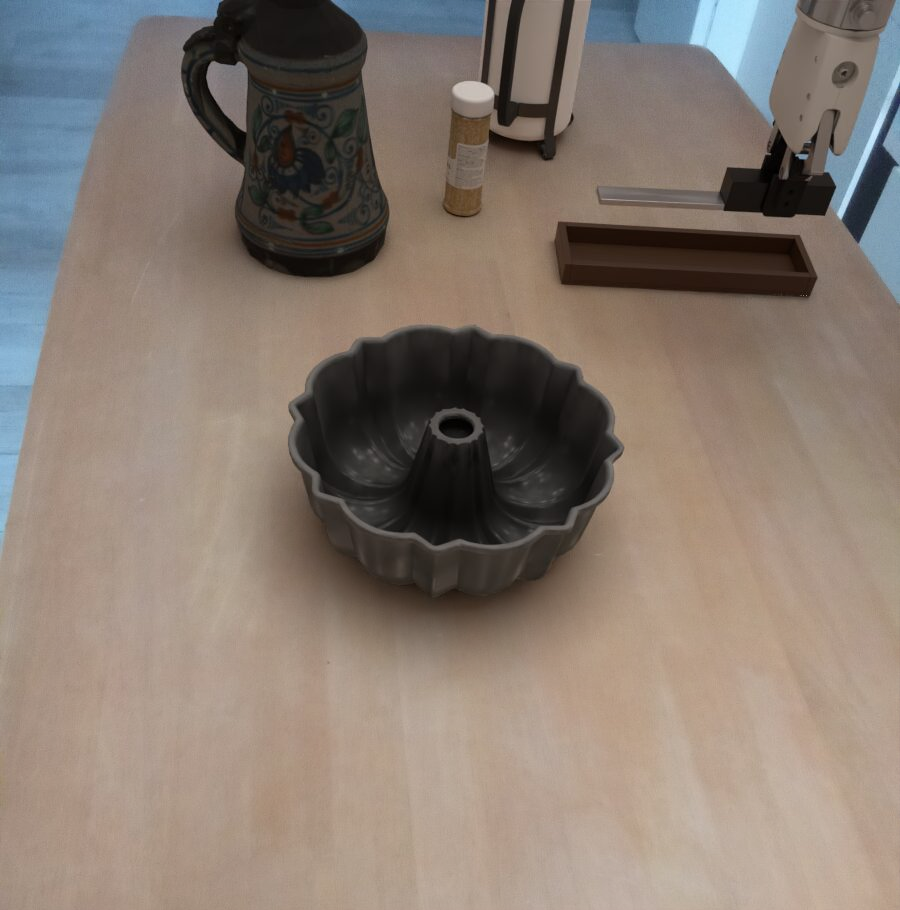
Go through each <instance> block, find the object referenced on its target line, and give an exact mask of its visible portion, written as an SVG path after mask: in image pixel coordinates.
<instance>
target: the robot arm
mask: <svg viewBox="0 0 900 910" xmlns="http://www.w3.org/2000/svg"><path fill="white" fill-rule="evenodd" d="M896 2H897V0H797V1H796V5H795V7H794V12H795V14H796V18H795V21H794V23H793V25H792V28H791V30H790V33H789V35H788V38H787V40H786V43H785V46H784V49H783V52H782V54H781V57H780V60H779V62H778V66H777V69H776V72H775V75H774V78H773V81H772V84H771V88H770V92H769V97H768V106H769V110H770V112H771V115H772V117H773V121H772V129H771V133H770V135H769V137H768V140H767V142H766V143H767V144H766V153H767V154H765V155H764V158H763V160H762V164H761V167H760V169H774V170H780V171H779V174H774V176H773V179H772V182H771V185H770V187H769V190H768V193H767V196H766V199H765V202H764V205H763V208H762V213H761V214H762V215H763V217H766V218H786V219H787V218H788V219H792V218H794V217H795V216H796V215H797V214H796V212H797V209H798V207H799V204H800V201H801V199H802V196H803V193H804V191H805V188H806V185H807V183H808V181H810V180H811V178H812V176H813V175H816V176H822V175H823V173H824V172H825V170H826V164H827V159H828V155H829V150H830V152H831V153H832V155H834V156H836V157H840V156H842V155H843V154H844V153H845V151H846V150H847V148H848V145H849V143H850V140H851V137H852V134H853V132H854V129H855V126H856V124H857V121H858V118H859V115H860V113H861V109H862V106H863V103H864V100H865V97H866V93H867V91H868V87H869V85H870V81H871V77H872V75H873V71H874V66H875V63H876V58H877V54H878V50H879V47H880V46H879V45H880V40H881V37H880V35H881V34H883V32H884V31H885V29H886V28H887V25H888V22H889V19H890V17H891V14H892V11H893V9H894V7H895V4H896ZM799 155H804V156H805V155H807V157H806V158H800V157H799Z"/></svg>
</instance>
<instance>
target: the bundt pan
mask: <svg viewBox="0 0 900 910" xmlns="http://www.w3.org/2000/svg"><path fill="white" fill-rule="evenodd" d="M287 405H288V413H289V415H290V417H291V419H292V420H293V423H292V425H291V427H290V430H289V433H288V436H287V447H288V452H289V456H290V459H291V461H292V463H293V464H294V466H295V468H296V469H297V471H299V472H300V474H301V477H302V482H303V485H304V488H305V491H306V495H307V499H308V503H309V505H310V507H311V509H312V511H313V513H314V515H315V516H316V518H318V520H319V521H320V522H321V523H322V524H323V525H324V526H325V529H326V533H327V536H328V541H329V543H330V545H331V547H332V548H333V549H334V551H335V552H337V553H339V554H340V555H342V556H345V557H350V558H357V559H358V561H359V563H360V564H361V566H362V567H363V568H364V569H365V571H367V572H368V573H369V574H370V575H371V576H373V577H374V578H376V579H377V580H379V581H382V582H384V583H388V584H389V585H390V584H391V585H395V586H396V585H399V586H403V585H411V584H414V583H415V584H416V585H417V587H419V588H420V589H421V590H422V591H423V592H424V593H425V594H427V595H428V597H429V598H431V599H436V598H438V597H440V596H442V595H444V594H446V593H447V592H450V591H452V590H454V589H456V590H458V591H460V592H461V593H465V594H467V595H471V596H478V597H479V596H480V597H481V596H490V595H493V594H496V593H499V592H501V591H503V590H505V589H506V588H508V587H510V586H511V585H513V583H514V582H515V581H516V580H517V579H518V580H521V581H522V580H523V581H528V582H529V581H531V582H533V581H538V580H539V579H541V578H543V577H545V575H546V574H547V573H548V572H549V570H550V568H551V566H552V563H553V562H554V560H555V559H557V558H559V557H562V556H563V555H565V554H566V553H568V552H569V551H571V550H573V548H574V547H575V546H576V544H577V543H579V541H580V540H581V538H582V537H583V534H584V533H585V531H586V529H587V527H588V525H589V523H590V521H591V519H592V517H593V515H594V513H595V511H596V510H597V508H598V506H600V504H602V503H603V502H604V501H605V500H606V499H607V497H608V496H609V494H610V492H611V490H612V488H613V484H614V482H615V468H614V463H616V461H618V460H619V459H620V458H621V457H622V456H623V453H624V450H625V445H624V443H623V442H622V441H621V440H620V439H619V437H618V436H616V434H615V425H616V413H615V410H614V407H613V405H612V404H611V402H610V400H609V399H608V398H607V397H606V396H605V395H604V394H603V393H602V392H601V391H600V390H599V389H597V388H596V387H594V386H593V385H592V384H590V383H588V382H586V381H585V380H584V374H583V370H582V368H581V367H580V366H579V365H577V364H574V363H569V362H566V361H562V360H559V359H557V358H556V357H555V356H554V354H553V353H552V352H551V351H549V350H548V349H547V348H545V347H544V346H542V345H541V344H539V343H538V342H535V341H532V340H530V339H528V338H525V337H522V336H517V335H512V334H502V333H501V334H500V333H492V332H490V331H487V330H486V329H483V328H482V327H481V326H478V325H476V324H468V325H463V326H460V327H456V328H452V327H448V326H443V325H437V324H436V325H435V324H415V325H413V324H412V325H406V326H403V327H399V328H396V329H394V330H392V331H389V332H388V333H386V334H384V335H382V336H361V337H358V338H356V339H355V340H354V342H352V343H351V346H350V348H349V349H348V350H346V351H342V352H338V353H334V354H333V355H331V356H328V357H326V358H324V359H323V360H321V361H320V362H318V364H316V365H315V366H314V367H313V368H312V370H311V371H310V372H309V373H308V375H307V377H306V380H305V384H304V392H302V393H301V394H299V395H298V396H296V397H295V398H293V399H292V400H290V401H289V403H288V404H287Z"/></svg>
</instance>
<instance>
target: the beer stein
mask: <svg viewBox="0 0 900 910" xmlns="http://www.w3.org/2000/svg"><path fill="white" fill-rule="evenodd" d="M367 38H368V37H367V34H366V33H365V31H364V30H363V28H362V26H361V25H360V23H358V22H357V20H356V19H355V18H354V17H352V16H351V15H350V14H349V13H347V12H346V11H345V10H343V9H342V8H341V7H339V6H338V5H337V4H335V2H333V1H332V0H221V1H220V2H218V5H217V9H216V17H215V18H214V20H213V22H212V25H208V26H203V27H202V28H200V29H198V30H196V31H194V33H192V34H191V35H190V37H189V38H188V39H187V40H186V41H185V42H184V44H183V46H182V51H183V52H184V54H183V56H182V60H181V65H180V79H181V84H182V90H183V93H184V96H185V99H186V102H187V103H188V105H189V108H190V110H191V112H192V113H193V115H194V118H196V120H197V121H198V123H199V124H200V125H201V127H202V128H203V129H204V130H205V132H206V133H207V134H208V136H210V137H211V139H212V140H213V141H214V142H215V143H216V144H217V145H218V146H219V147H220V148H221V149H222V150H223V151H224V152H225V153H226V154H227V155H229V157H230V158H232V159H234V160H235V161H236V162H238V163H239V164H241V165H242V167H243V168H244V169H243V177H242V180H241V184H240V189H239V191H238V193H237V196H236V199H235V204H234V218H235V221H236V225H237V228H238V230H239V233H240V235H241V240H242V242H243V244H244V246H245V248H246V250H247V252H248V254H249V255H250V256H251V257H252V258H254V259H255V260H256V261H258V262H259V263H261V264H262V265H264V266H265V267H266V268H267V269H271V270H273V271H277V272H280V273H282V274H286V275H291V276H297V277H303V278H304V277H306V278H307V277H309V278H311V277H314V278H315V277H317V278H318V277H335V276H339V275H344V274H348V273H352V272H353V273H354V272H355V271H356V270H358V269H361V268H362V267H363V266H365V265H367V264H369V263H372V262H373V261H374V260H375V258H376V257H377V256H378V255H379V252H380V251H381V250H382V248H383V246H384V245H385V241H386V233H387V228H388V224H389V220H390V205H389V200H388V198H387V195H386V192H385V191H384V189H383V186H382V184H381V181H380V177H379V173H378V169H377V165H376V159H375V155H374V150H373V143H372V137H371V132H370V124H369V117H368V108H367V107H368V106H367V101H366V95H365V87H364V81H363V68H364V66H365V63H366V60H367V54H368V49H369V47H368V46H369V45H368V39H367ZM213 62H215V63H217V64H219V65H227V66H233V67H236V66H237V64H238V63H241V64H243V65H244V66H245V68H246V71H247V91H246V107H245V108H246V111H245V127H246V128H245V130H246V131H244V130H242V129H241V128H239V127H238V126H237V125H236V124H235V122H234V121H232V119H231V118H229V116H227V115H226V113H225V112H224V111H223V110H222V108H221V107H220V105H219V103H218V102H217V101H216V99H215V97H214V95H213V94H212V92H211V90H210V88H209V82H208V79H207V76H208V71H209V67H210V65H211V64H212V63H213Z"/></svg>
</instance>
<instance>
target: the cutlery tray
mask: <svg viewBox="0 0 900 910" xmlns="http://www.w3.org/2000/svg"><path fill="white" fill-rule="evenodd" d="M554 246H555V254H556V258H557V265H558V272H559V277H560V284H561V285H573V286H574V285H576V286H577V285H578V286H593V287H594V286H595V287H613V288H614V287H616V288H617V287H618V288H632V289H633V288H635V289H651V290H653V289H654V290H671V291H690V292H691V291H693V292H712V293H727V294H728V293H729V294H730V293H731V294H750V295H751V294H752V295H767V294H776V295H775V296H786V295H792V296H791V297H794V296H793V295H802V296H801V297H805V296H806V295H807V296H810V297H811V294H812V293H813V290H814V287H815V285H816V283H817V280H818V278H819V277H818V274H817V272H816V270H815V267H814V265H813V262H812V260H811V258H810V256H809V253H808V251H807V248H806V246H805V244H804V241H803V238H802V237H801V234H791V233H789V234H788V233H773V232H772V233H771V232H753V231H734V230H719V229H699V228H698V229H697V228H682V227H665V226H664V227H663V226H648V225H632V224H631V225H629V224H613V223H612V224H611V223H596V222H579V221H577V222H575V221H559V220H558V221H557V224H556V230H555V236H554ZM778 294H779V295H778ZM781 294H782V295H781ZM803 295H804V296H803Z"/></svg>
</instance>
